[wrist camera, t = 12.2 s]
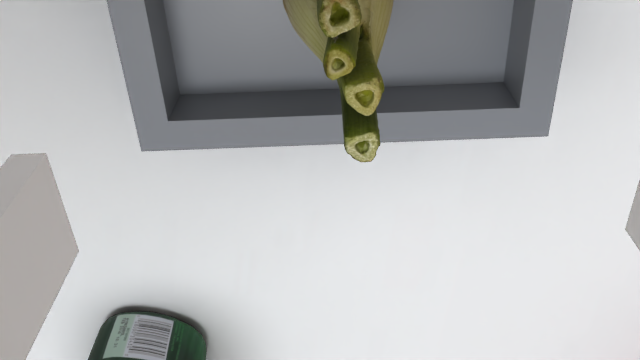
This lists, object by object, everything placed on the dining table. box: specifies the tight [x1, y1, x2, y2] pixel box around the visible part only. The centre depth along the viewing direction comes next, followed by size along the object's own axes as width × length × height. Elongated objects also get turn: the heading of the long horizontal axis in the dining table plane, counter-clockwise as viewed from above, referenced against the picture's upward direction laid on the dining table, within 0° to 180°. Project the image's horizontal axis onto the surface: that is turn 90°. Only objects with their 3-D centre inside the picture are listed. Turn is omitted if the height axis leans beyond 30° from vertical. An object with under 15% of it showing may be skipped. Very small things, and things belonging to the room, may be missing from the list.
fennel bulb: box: [283, 0, 394, 162], centre depth 24 cm, size 6×5×12 cm
